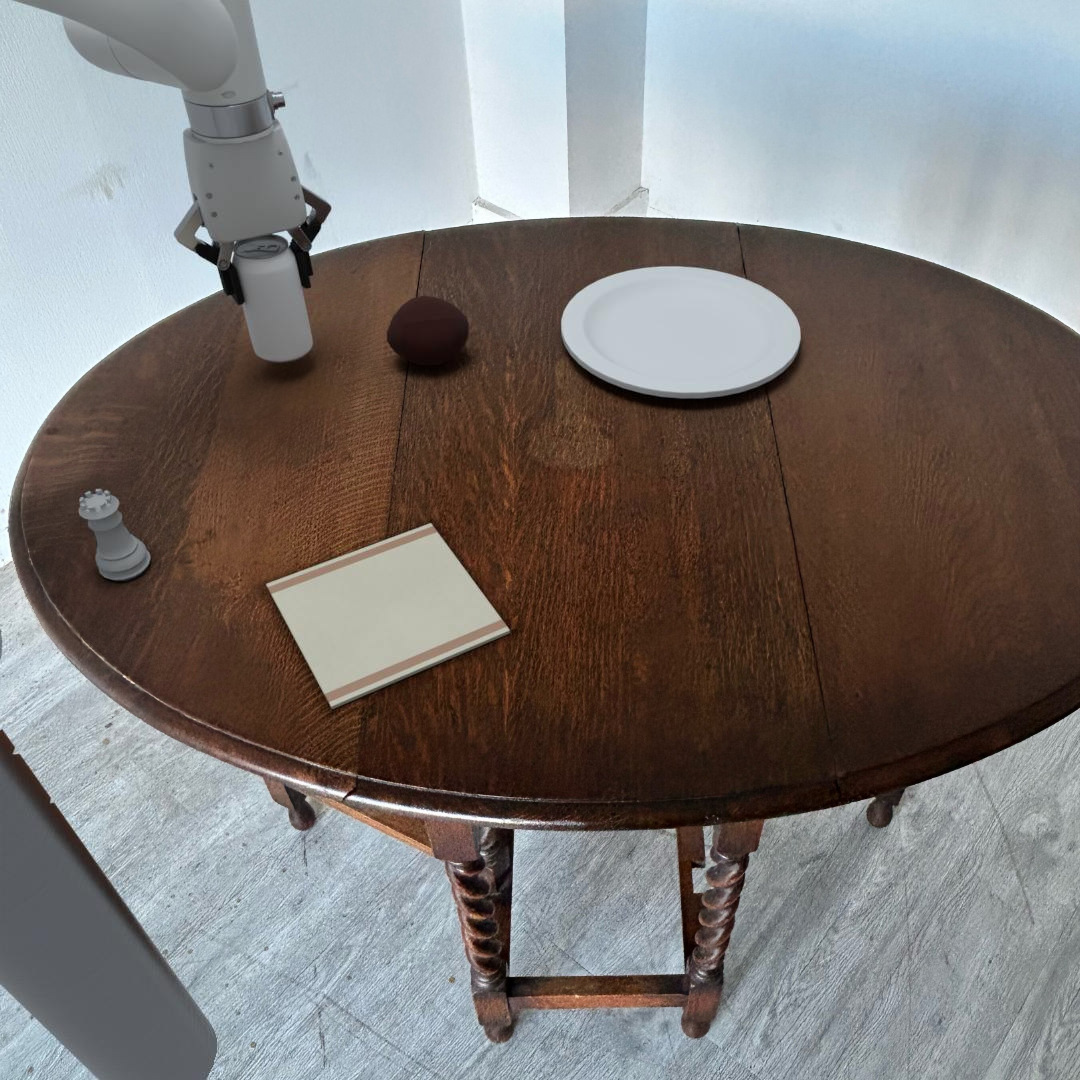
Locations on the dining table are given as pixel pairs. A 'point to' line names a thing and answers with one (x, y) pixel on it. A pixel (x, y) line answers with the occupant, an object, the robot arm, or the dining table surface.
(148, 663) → the dining table surface
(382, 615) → the napkin
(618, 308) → the plate
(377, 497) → the dining table surface
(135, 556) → the rook chess piece
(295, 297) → the can
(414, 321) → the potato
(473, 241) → the dining table surface
